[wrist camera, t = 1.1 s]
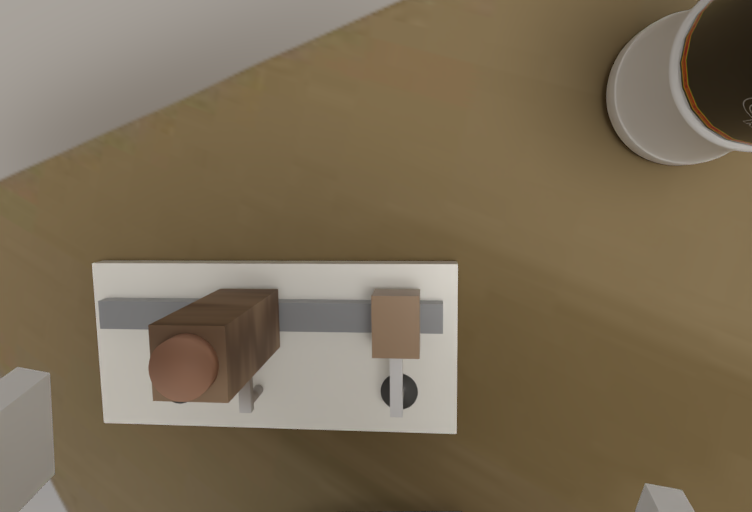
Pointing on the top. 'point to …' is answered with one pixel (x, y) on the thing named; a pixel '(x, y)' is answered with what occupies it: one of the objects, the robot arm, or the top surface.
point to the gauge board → (296, 343)
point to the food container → (423, 511)
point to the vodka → (686, 85)
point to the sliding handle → (214, 347)
